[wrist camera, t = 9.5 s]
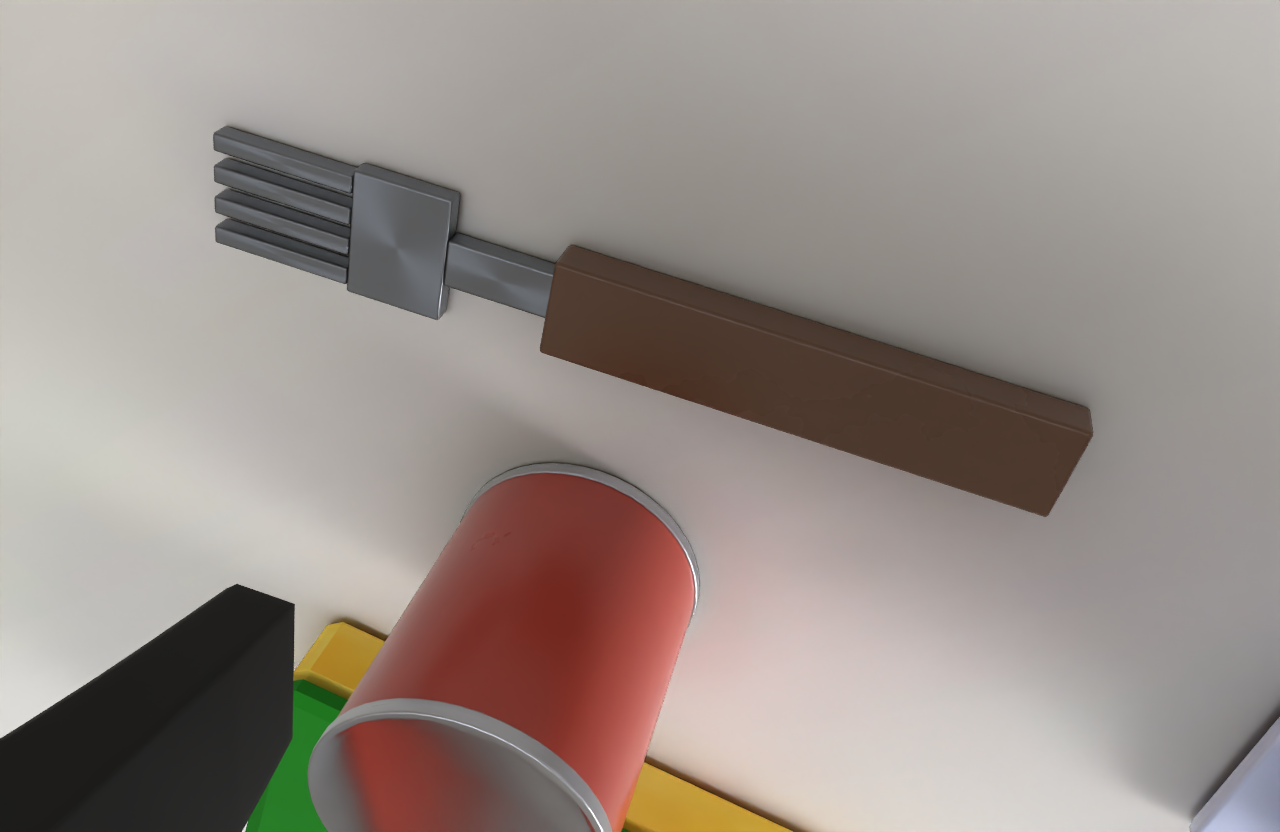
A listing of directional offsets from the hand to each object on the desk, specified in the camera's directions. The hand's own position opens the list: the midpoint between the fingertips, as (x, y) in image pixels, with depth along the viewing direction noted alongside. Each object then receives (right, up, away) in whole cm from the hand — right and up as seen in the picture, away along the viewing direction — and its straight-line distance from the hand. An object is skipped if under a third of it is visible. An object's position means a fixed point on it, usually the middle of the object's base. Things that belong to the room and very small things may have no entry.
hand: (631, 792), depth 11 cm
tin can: (-1, +1, +12) cm, 12 cm away
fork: (0, +5, +9) cm, 10 cm away
